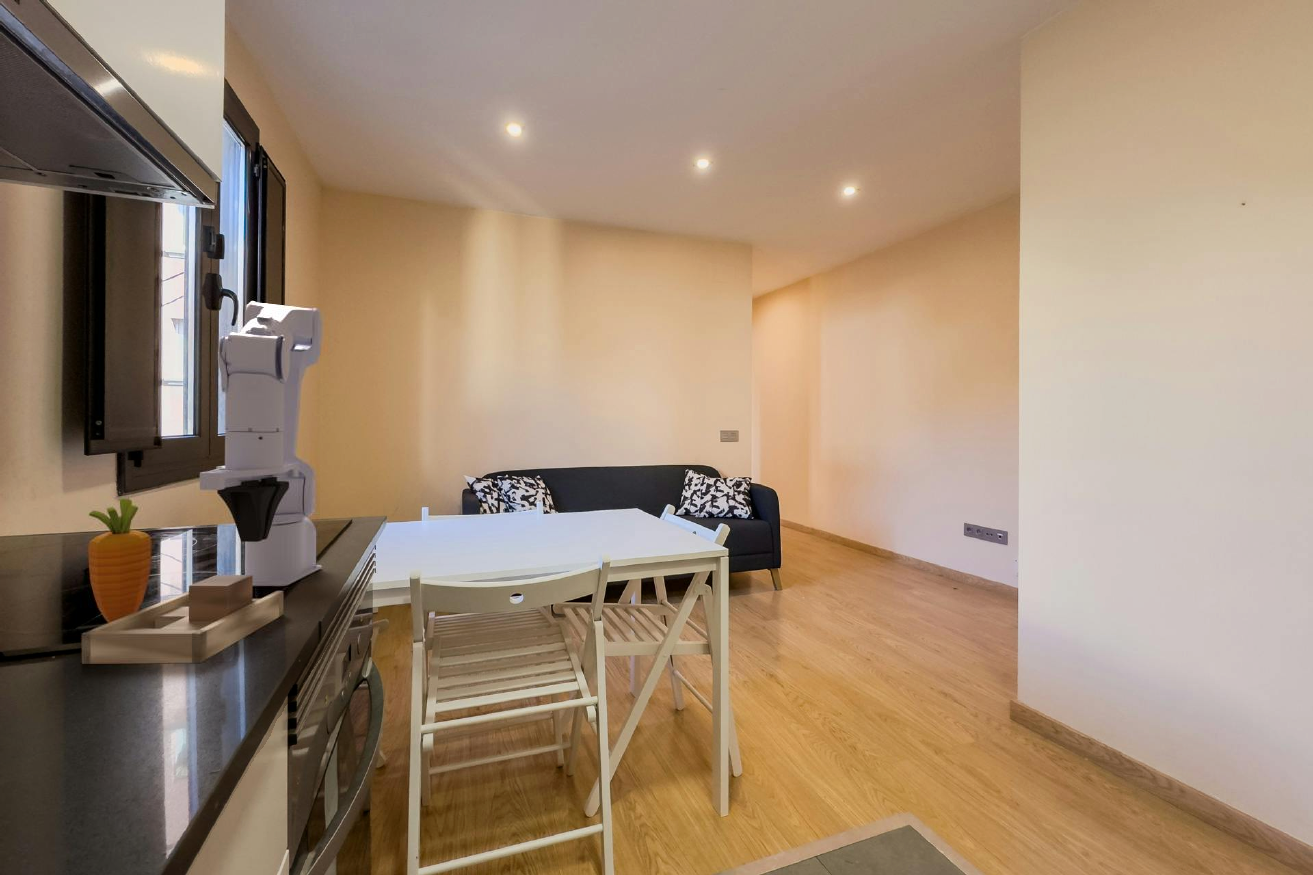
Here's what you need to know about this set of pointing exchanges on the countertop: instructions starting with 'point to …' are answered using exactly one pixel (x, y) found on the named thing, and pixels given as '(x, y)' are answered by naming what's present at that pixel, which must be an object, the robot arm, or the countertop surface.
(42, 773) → the countertop surface
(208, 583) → the block
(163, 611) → the tray box
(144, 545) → the carrot
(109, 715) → the countertop surface
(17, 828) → the countertop surface
